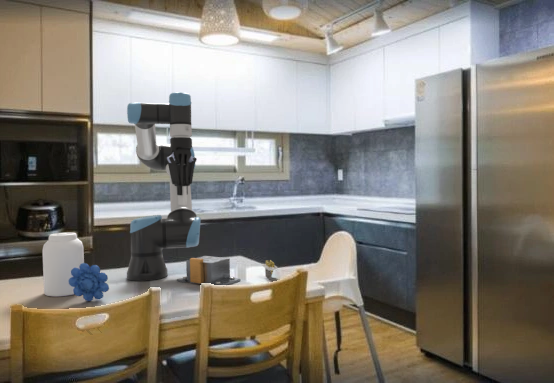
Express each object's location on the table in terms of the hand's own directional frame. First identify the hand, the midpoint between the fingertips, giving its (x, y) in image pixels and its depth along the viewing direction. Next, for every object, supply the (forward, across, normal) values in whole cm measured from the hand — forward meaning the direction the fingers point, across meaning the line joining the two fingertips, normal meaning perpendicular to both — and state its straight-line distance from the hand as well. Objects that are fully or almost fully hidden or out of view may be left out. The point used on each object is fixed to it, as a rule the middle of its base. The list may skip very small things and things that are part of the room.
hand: (182, 204), depth 157 cm
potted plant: (+29, +23, -21) cm, 43 cm away
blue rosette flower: (+29, -31, +10) cm, 43 cm away
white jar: (+29, -28, +28) cm, 49 cm away
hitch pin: (+28, +9, -4) cm, 29 cm away
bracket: (+28, +8, -4) cm, 30 cm away
